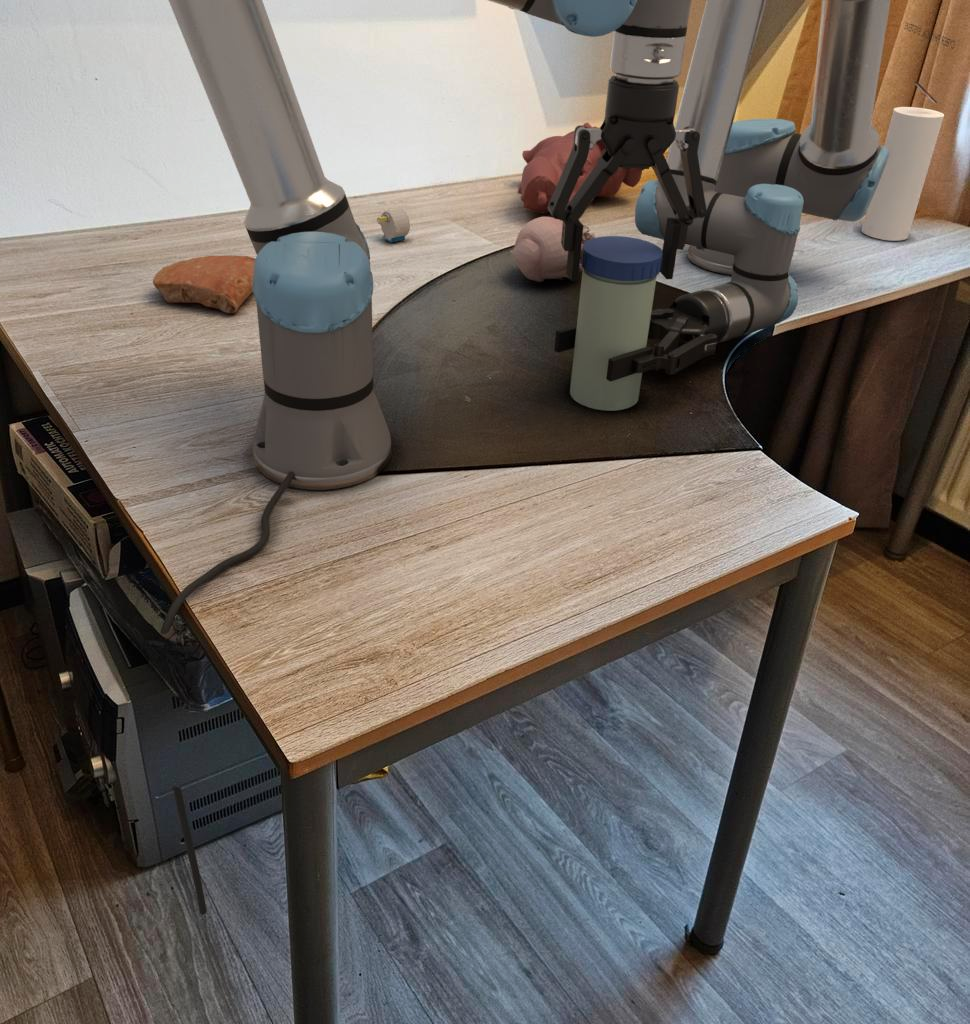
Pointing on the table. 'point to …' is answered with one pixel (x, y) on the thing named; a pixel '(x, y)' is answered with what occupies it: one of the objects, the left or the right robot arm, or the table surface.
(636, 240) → the lid
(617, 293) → the jar
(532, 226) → the toy
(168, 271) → the ceramic shard
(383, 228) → the electric motor
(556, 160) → the reddish brown figurine
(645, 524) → the table surface
